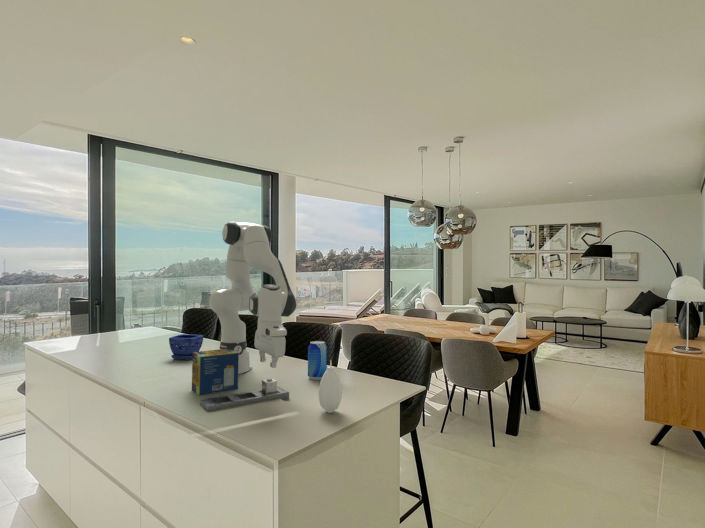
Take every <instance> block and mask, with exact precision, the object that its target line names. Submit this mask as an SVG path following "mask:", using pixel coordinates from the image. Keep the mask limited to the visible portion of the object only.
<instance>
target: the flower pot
mask: <svg viewBox="0 0 705 528" xmlns="http://www.w3.org/2000/svg"><path fill="white" fill-rule="evenodd" d="M168 342H169V348H170V351H171V352H172V355H171V354H170V356H171V358H172V359H173V360H182V359H186V361H190V360H192V352H200V350H201V348H202V345H203V342H204V335H203V334H190V333H187V334H186V333H183V334H177V335H174V336H171V337H169V338H168Z"/></svg>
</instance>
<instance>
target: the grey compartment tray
mask: <svg viewBox="0 0 705 528" xmlns="http://www.w3.org/2000/svg"><path fill="white" fill-rule="evenodd" d="M276 399H277V400H278V399H280V400H282V401H284V400H289V399H290V391H288V390H286V389H284V388H283V387H280V386H279V385H277V393H274V394H269V395H264V394H263V393H262V388H261V389H256V390H255V389H254V390H249V391H244V392H243V391H242V392H238V393H237V392H236V393H233V394H227V395H226V394H225V395H219V396H214V397H210V398H209V397H208V398H204V399H200V401H199V402H200V403H199V404H200V406H202V408H203V409H204V410H206V412H213V411H218V410H219V411H220V410H224V409H228V408H230V409H231V408H233V407H234V408H235V407H240V406H244V405H245V406H246V405H251V404H255V403H256V404H257V403H261V402H265V401H272V400H276Z"/></svg>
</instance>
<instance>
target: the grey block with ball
mask: <svg viewBox="0 0 705 528" xmlns="http://www.w3.org/2000/svg"><path fill="white" fill-rule="evenodd" d="M277 387H278V380H277V379H275V378H266V379H262V380H261V389H262V393H263V394H264V395H269V394H274V393H277Z"/></svg>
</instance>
